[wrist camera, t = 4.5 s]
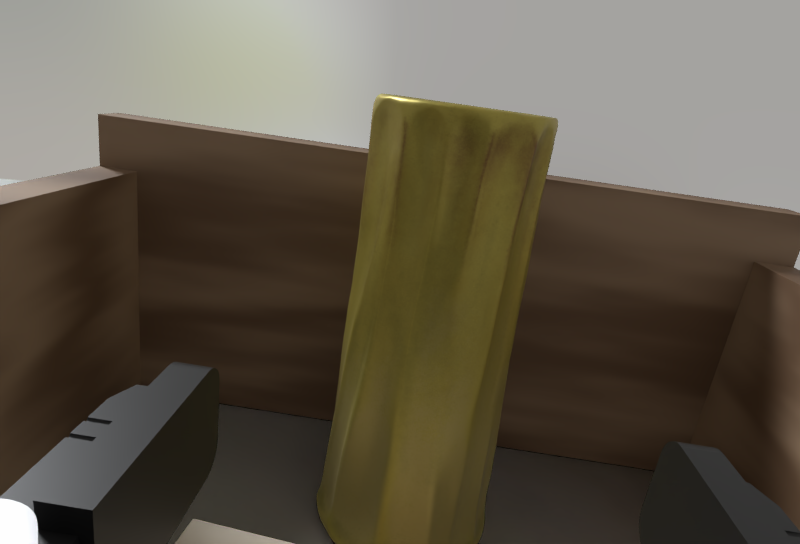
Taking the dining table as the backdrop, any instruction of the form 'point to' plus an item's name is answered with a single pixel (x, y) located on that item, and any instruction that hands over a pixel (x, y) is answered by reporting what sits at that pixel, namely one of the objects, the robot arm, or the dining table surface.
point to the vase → (431, 319)
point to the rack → (330, 291)
